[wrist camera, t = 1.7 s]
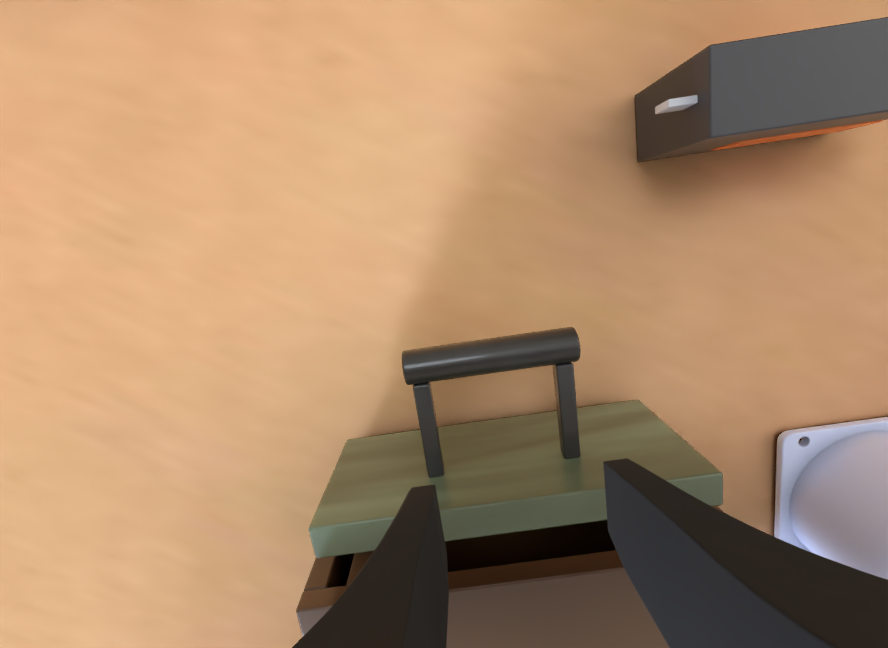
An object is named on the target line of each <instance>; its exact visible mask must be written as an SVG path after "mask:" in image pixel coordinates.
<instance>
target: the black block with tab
mask: <svg viewBox="0 0 888 648" xmlns="http://www.w3.org/2000/svg"><path fill="white" fill-rule="evenodd" d="M635 107H636V130H637V154H638V162H642V161H649V160H655V159H662V158H668V157H675V156H681V155H688V154H695V153H701V152H708V151H714V150H721V149H728V148H734V147H741V146H747V145H754V144H761V143H767V142H774V141H780V140H787V139H794V138H800V137H807V136H813V135H820V134H827V133H833V132H839V131H844V130H848V129H852V128H856V127H860V126H865V125H869V124H873V123H877V122H881V121H883V120H886V119H888V17H885V18H879V19H873V20H866V21H860V22H853V23H847V24H841V25H834V26H828V27H822V28H815V29H809V30H803V31H796V32H790V33H783V34H777V35H771V36H764V37H758V38H752V39H745V40H739V41H732V42H726V43H720V44H713V45H710V46H708V47H707V48H705V49H704V50H702V51H701V52H699V53H698V54H696V55H695V56H693V57H692V58H690V59H689V60H687V61H686V62H684V63H683V64H681V65H680V66H678V67H677V68H675V69H674V70H672V71H671V72H669V73H668V74H666V75H665V76H663V77H662V78H661V79H659V80H658V81H656V82H655V83H653V84H652V85H650V86H649V87H647V88H646V89H644V90H643V91H641V92H640V93H638V94H637V95H635Z"/></svg>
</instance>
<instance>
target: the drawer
mask: <svg viewBox="0 0 888 648" xmlns="http://www.w3.org/2000/svg"><path fill="white" fill-rule="evenodd" d="M579 358H580V343H579V338H578V335H577V333H576V331H575V329H574V328H573V327H567V328H560V329H553V330H546V331H539V332H532V333H525V334H518V335H511V336H504V337H497V338H490V339H483V340H476V341H469V342H462V343H455V344H448V345H441V346H434V347H427V348H420V349H413V350H406V351H403V352H402V368H403V374H404V379H405V382H406V384H407V385H412V384H413V391H414V397H415V403H416V409H417V414H418V420H419V426H420V430H414V431H407V432H400V433H393V434H385V435H378V436H371V437H364V438H357V439H349V440H347V442H346V444H345V446H344V449H343V451H342V453H341V455H340V458H339V460H338V462H337V465H336V467H335V469H334V472H333V474H332V476H331V478H330V481H329V483H328V485H327V488H326V490H325V492H324V495H323V497H322V499H321V501H320V504H319V506H318V508H317V511H316V513H315V515H314V517H313V520H312V522H311V524H310V527H309V532H310V536H311V540H312V544H313V548H314V552H315V556H316V558H325V557H332V556H340V555H347V554H354V557H353V561H352V565H351V569H350V573H349V576H348V580H347V584H346V585H350V584H351V582H352V581H353V580H354V579H355V577H356V576H357V575H358V573H359V572H360V570H361V569H362V568H363V566H364V565H365V563H366V562H367V560H368V559H369V557H370V556H371V555H372V553H373V552H374V550H375V549H376V547H377V546H378V544H379V543H380V541H381V539H382V538H383V536H384V535H385V533H386V531H387V530H388V528H389V526H390V525H391V523H392V521H393V520H394V518H395V516H396V514H397V513H398V511H399V509H400V507H401V505H402V503H403V501H404V499H405V497H406V495H407V493H408V492H409V490H410V489H411V488H412V487H419V486H426V485H434V484H435V486H436V492H437V498H438V504H439V510H440V516H441V522H442V528H443V534H444V540H445V545H446V551H447V567H448V572H453V571H461V570H468V569H476V568H483V567H491V566H499V565H506V564H514V563H522V562H529V561H537V560H545V559H552V558H560V557H568V556H575V555H583V554H591V553H598V552H606V551H614V550H616V548H615V546H614V544H613V541H612V539H611V537H610V534H609V532H608V522H607V508H606V494H605V479H604V465H603V461H611V460H618V459H625V458H628V459H630V460H632V461H633V462H635V463H637V464H639V465H640V466H642V467H644V468H646V469H647V470H649V471H651V472H652V473H654V474H656V475H657V476H659V477H661V478H662V479H664V480H666V481H668V482H669V483H671V484H673V485H674V486H676V487H678V488H679V489H681V490H683V491H685V492H686V493H688V494H690V495H692V496H693V497H695V498H697V499H699V500H701V501H703V502H704V503H706V504H708V505H710V506H718V505H722V504H723V475H722V472H721V471H719V470H718V469H717V468H716V467H715V466H714V465H713V464H711V463H710V462H709V461H708V460H707V459H706V458H705V457H703V456H702V455H701V454H700V453H699V452H698V451H697V450H695V449H694V448H693V447H692V446H691V445H690V444H689V443H687V442H686V441H685V440H684V439H683V438H682V437H681V436H679V435H678V434H677V433H676V432H675V431H674V430H673V429H671V428H670V427H669V426H668V425H667V424H666V423H665V422H663V421H662V420H661V419H660V418H659V417H658V416H657V415H655V414H654V413H653V412H652V411H651V410H650V409H649V408H647V407H646V406H645V405H644V404H643V403H642V402H641V401H639V400H631V401H623V402H616V403H609V404H602V405H595V406H587V407H580V408H577V405H576V393H575V381H574V369H573V364H572V363H571V362H575V361H578V360H579ZM546 365H553V374H554V384H555V395H556V406H557V411H551V412H544V413H537V414H530V415H522V416H515V417H508V418H501V419H494V420H486V421H479V422H472V423H465V424H458V425H450V426H443V427H438V426H437V419H436V413H435V407H434V401H433V395H432V389H431V382H433V381H440V380H447V379H454V378H461V377H469V376H476V375H483V374H490V373H497V372H504V371H511V370H518V369H525V368H532V367H539V366H546Z"/></svg>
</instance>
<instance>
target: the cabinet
mask: <svg viewBox="0 0 888 648" xmlns="http://www.w3.org/2000/svg"><path fill="white" fill-rule="evenodd" d="M712 507H714V508H716V509H717V510H719V511H721V512H723V511H722V510H721V509H720V508H719V507H718V506H712ZM723 513H724V512H723ZM353 557H354V554H347V555H340V556H332V557H325V558H316V559H315V562H314V565H313V567H312V570H311V573H310V575H309V578H308V581H307V583H306V586H305V589H304V592H303V594H302V596H301V599H300V602H299V604H298V607H297V610H296V613H297V616H298V620H299V624H300V628H301V631H302V635H303V636H304V635H305V634H306V633H307V632H308V631H309V630H310V629H311V628H312V627H313V626H314V625H315V624H316V623H317V622H318V621H319V620H320V619H321V618H322V617H323V616H324V615H325V614H326V612H327V611H328V610H329V609H330V608H331V607H332V606H333V605H334V603H335V602H336V601H337V600H338V599H339V597H340V596H341V595H342V594H343V593H344V591H345V590H346V589H347V588H348V586H349V585H346V584H347V580H348V576H349V573H350V569H351V565H352V561H353ZM448 586H449V601H448V623H447V644H446V648H670V647H669V646H668V644H667V642H666V641H665V639H664V637H663V635H662V634H661V632H660V630H659V629H658V627H657V625H656V623H655V622H654V620H653V618H652V616H651V615H650V613H649V611H648V610H647V608H646V606H645V604H644V603H643V601H642V599H641V597H640V596H639V594H638V592H637V590H636V589H635V587H634V585H633V583H632V582H631V580H630V578H629V576H628V575H627V573H626V571H625V569H624V567H623V564H622V562H621V560H620V558H619V555H618V553H617V551H616V550H614V551H606V552H598V553H591V554H583V555H575V556H568V557H560V558H552V559H545V560H537V561H529V562H522V563H514V564H506V565H499V566H491V567H483V568H476V569H468V570H461V571H453V572H448Z"/></svg>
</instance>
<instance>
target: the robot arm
mask: <svg viewBox="0 0 888 648" xmlns="http://www.w3.org/2000/svg"><path fill="white" fill-rule="evenodd" d="M802 437H803V438H802ZM801 438H802V440H801V441H800V442H799V440H800V439H801ZM603 465H604V479H605V494H606V508H607V522H608V532H609V534H610V537H611V539H612V541H613V544H614V546H615V548H616V551H617V553H618V555H619V558H620V560H621V562H622V564H623V567H624V569H625V571H626V573H627V575H628V576H629V578H630V580H631V582H632V583H633V585H634V587H635V589H636V590H637V592H638V594H639V596H640V597H641V599H642V601H643V603H644V604H645V606H646V608H647V610H648V611H649V613H650V615H651V616H652V618H653V620H654V622H655V623H656V625H657V627H658V629H659V630H660V632H661V634H662V635H663V637H664V639H665V641H666V642H667V644H668V646H669V647H670V648H888V417H881V418H874V419H867V420H859V421H852V422H845V423H837V424H830V425H823V426H815V427H808V428H800V429H793V430H787V431H784V432H782V433H781V434H780V435H779V437H778V439H777V460H776V494H775V528H774V536H771V535H769V534H767V533H764V532H762V531H760V530H758V529H756V528H754V527H751V526H749V525H747V524H745V523H743V522H741V521H739V520H737V519H735V518H733V517H731V516H729V515H727V514H725V513H723V512H721V511H719V510H717V509H716V508H714V507H712V506H710V505H708V504H706V503H704V502H703V501H701V500H699V499H697V498H695V497H693V496H692V495H690V494H688V493H686V492H685V491H683V490H681V489H679V488H678V487H676V486H674V485H673V484H671V483H669V482H668V481H666V480H664V479H662V478H661V477H659V476H657V475H656V474H654V473H652V472H651V471H649V470H647V469H646V468H644V467H642V466H640V465H639V464H637V463H635V462H633V461H632V460H630V459H628V458H625V459H618V460H611V461H603ZM448 601H449V586H448V567H447V551H446V545H445V540H444V534H443V528H442V522H441V516H440V510H439V504H438V498H437V492H436V486H435V484H434V485H426V486H419V487H412V488H411V489H410V490H409V492H408V493H407V495H406V497H405V499H404V501H403V503H402V505H401V507H400V509H399V511H398V513H397V514H396V516H395V518H394V520H393V521H392V523H391V525H390V526H389V528H388V530H387V531H386V533H385V535H384V536H383V538H382V539H381V541H380V543H379V544H378V546H377V547H376V549H375V550H374V552H373V553H372V555H371V556H370V557H369V559H368V560H367V562H366V563H365V565H364V566H363V568H362V569H361V570H360V572H359V573H358V575H357V576H356V577H355V579H354V580H353V581H352V582H351V584H350V585H349V586H348V588H347V589H346V590H345V591H344V593H343V594H342V595H341V596H340V597H339V599H338V600H337V601H336V602H335V603H334V605H333V606H332V607H331V608H330V609H329V610H328V611H327V612H326V614H325V615H324V616H323V617H322V618H321V619H320V620H319V621H318V622H317V623H316V624H315V625H314V626H313V627H312V628H311V629H310V630H309V631H308V632H307V633H306V634H305V635H304V636H303V637H302V638H301V639H300V640H299V641H298V642H297V643H296V644H295V645H294V646H293V647H292V648H446V644H447V623H448Z"/></svg>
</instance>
